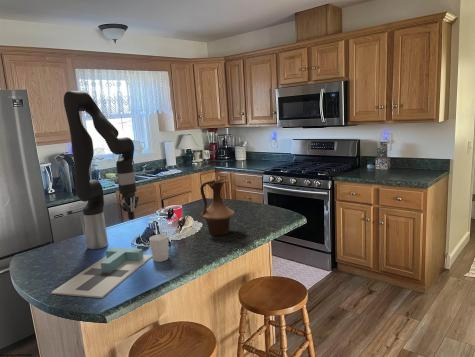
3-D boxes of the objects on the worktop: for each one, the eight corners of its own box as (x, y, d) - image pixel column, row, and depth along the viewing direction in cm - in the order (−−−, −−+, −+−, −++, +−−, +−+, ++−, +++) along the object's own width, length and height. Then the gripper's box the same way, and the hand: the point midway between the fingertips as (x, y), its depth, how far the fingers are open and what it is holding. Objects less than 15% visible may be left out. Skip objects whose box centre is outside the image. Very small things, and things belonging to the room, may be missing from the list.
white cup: (154, 264, 157) (151, 241, 155) (149, 258, 164) (147, 236, 162) (172, 259, 160) (169, 237, 159) (166, 253, 167) (164, 232, 166)
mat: (51, 293, 137) (51, 292, 136) (110, 254, 171) (110, 253, 171) (102, 298, 131) (102, 296, 130) (152, 256, 165) (152, 255, 165)
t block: (89, 271, 153) (87, 262, 152) (112, 256, 168) (110, 247, 167) (123, 273, 148) (121, 264, 148) (143, 257, 163) (142, 249, 163)
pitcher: (208, 240, 181) (203, 184, 176) (197, 230, 196) (192, 179, 191) (240, 233, 188) (237, 179, 182) (228, 224, 203) (224, 174, 198)
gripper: (127, 179, 173) (132, 214, 177) (110, 185, 161) (116, 223, 164) (141, 179, 171) (146, 215, 174) (126, 185, 159) (131, 223, 162)
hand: (131, 219), depth 169 cm, fingers closed
